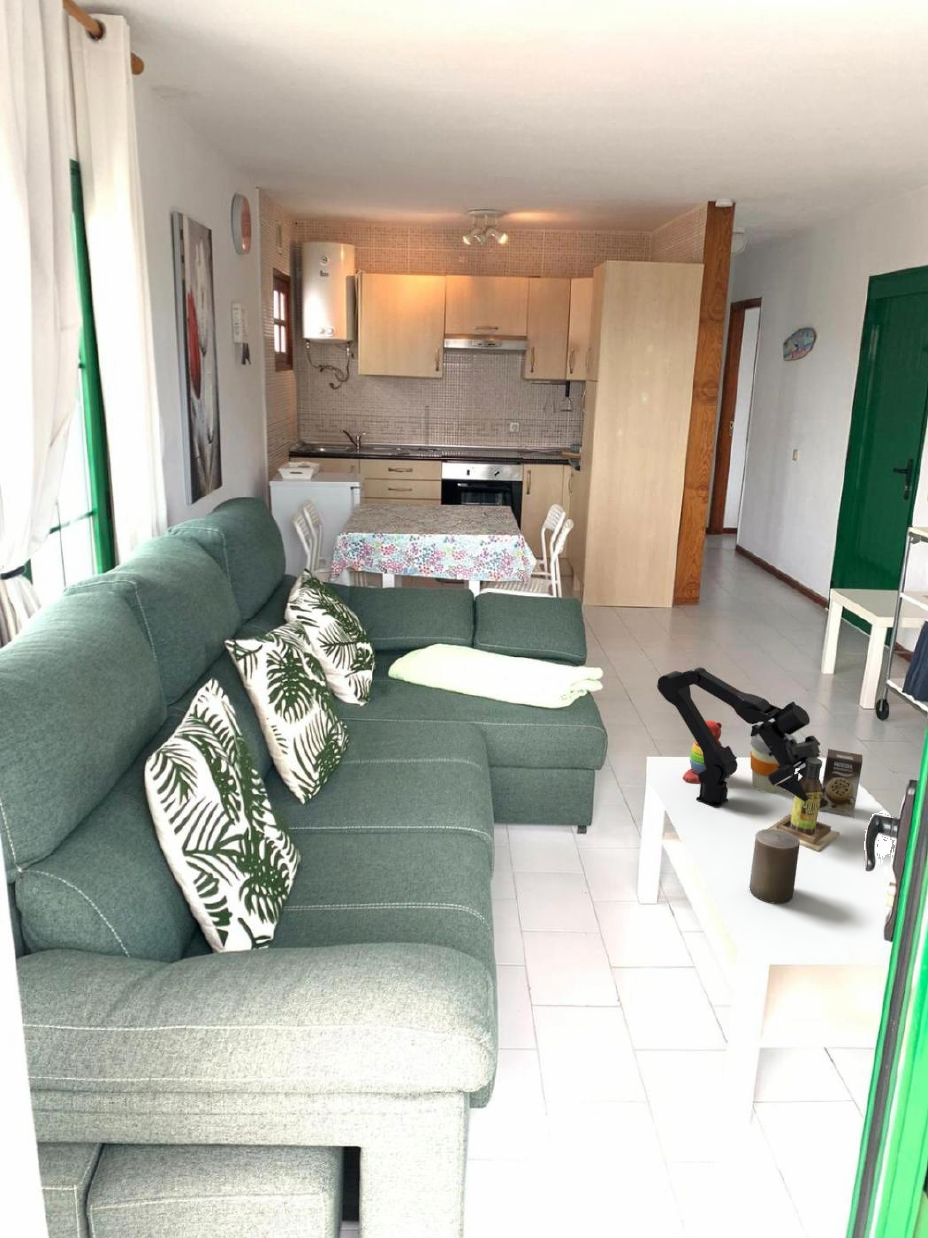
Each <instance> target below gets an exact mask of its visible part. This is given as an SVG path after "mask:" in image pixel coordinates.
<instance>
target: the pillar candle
mask: <svg viewBox="0 0 928 1238" xmlns="http://www.w3.org/2000/svg"><path fill="white" fill-rule="evenodd" d="M754 835H755V838H754V846H753V855H752V862H751V863H752V864H751V870H750V872H751V873H750V878H749V886H748V887H749V888H750V890H749V892H750V891H751V892H750V893H751V894H752V895H753V896H754V895H755V896H757V897H758V898H757V897H756V898H757V899H759V898H761V899H760V900H762V901H764V900H765V901H764V902H766V901H767V903H771V902H774V903H773V904H784V903H789V902H790V901H791V900H792V899H794V898H793V897H794V892H795V891H794V890H795V883H796V878H797V877H796V875H797V868H798V861H799V860H798V859H799V851H800V846H801V845H800V841H799V839H798V838H797V837H796V836H795V835H793V834H791V833H789V832H786V831H783V830H778V829H768V828H766V829H765V828H764V829H761V830H758V831H757V832H756V833H755V834H754ZM755 896H754V897H755Z"/></svg>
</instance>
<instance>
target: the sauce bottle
mask: <svg viewBox="0 0 928 1238" xmlns="http://www.w3.org/2000/svg"><path fill="white" fill-rule="evenodd" d="M822 766H823V761H822V759H820V758H819V757H817V758H815V757H808V758H806V761H805V771H804V775H803V776H801V777H800V778H798V781H799V783H800V784H801V786H802V788H803V790H804V792H805V793H806V795H807V797H808V800H807V801H803V800H801V799H800V798H798V797H797V796H795V795H794V799H793V804H792V805H793V806H792V809H791V810H792V811H791V824H790V828H791V829H793V830H796V831H799V832H801V833H804V834H807V835H810V834H813V833H814V831H815V827H816V822H818V816H819V812H820V811H819V805H820V800H821V794H822V781H821V780H819V779H820V776H821V775H820V774H821V769H822Z"/></svg>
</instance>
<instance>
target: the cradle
mask: <svg viewBox="0 0 928 1238" xmlns="http://www.w3.org/2000/svg"><path fill="white" fill-rule="evenodd" d="M791 815H792V813H791V814H790V813H788V814H787V815H786V816H784V817H783V818H782V819H780V820H779V821H778V820H777V822H775V823H773V825H770V826H769V827H767V829H778V830H783V831H786V832H789V833H791V834H793V835H795V836H796V837H797V838H798V839H799V841H800V846H802V847H805V848H806V849H807V848H808V849H810V850H812V851H815V852H819V851H821V850H822V849H823V848H825V847H826V846H827V845H828V844H831V842H833V841H834V840H835V839H837V838H838V837H839V836H841V832H840V831H838V830H835V829H832V826H831V825H828V824H826V823H823V822H820V821H817V822H816V827H815V831H814V833H813V834H810V835H807V834H804V833H801V832H799V831H796V830H793V829H791V828H790V824H791Z"/></svg>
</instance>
